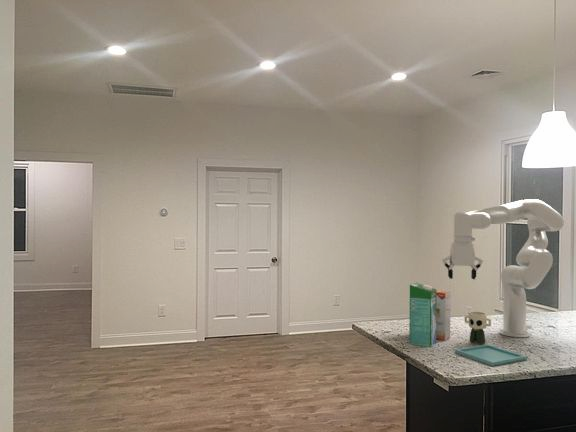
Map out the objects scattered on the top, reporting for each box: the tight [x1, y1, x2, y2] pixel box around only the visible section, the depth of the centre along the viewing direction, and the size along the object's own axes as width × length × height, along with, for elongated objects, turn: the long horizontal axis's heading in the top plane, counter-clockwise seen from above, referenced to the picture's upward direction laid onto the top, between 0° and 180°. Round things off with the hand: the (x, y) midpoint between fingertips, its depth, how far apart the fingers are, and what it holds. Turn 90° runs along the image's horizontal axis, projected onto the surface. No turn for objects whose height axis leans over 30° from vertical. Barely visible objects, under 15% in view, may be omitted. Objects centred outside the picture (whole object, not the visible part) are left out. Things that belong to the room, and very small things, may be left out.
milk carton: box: [408, 282, 437, 348], centre depth 197 cm, size 9×9×25 cm
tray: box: [454, 343, 528, 367], centre depth 178 cm, size 18×18×2 cm
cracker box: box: [436, 290, 451, 341], centre depth 207 cm, size 14×6×21 cm, turn 47°
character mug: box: [464, 310, 492, 345], centre depth 197 cm, size 11×7×13 cm, turn 51°
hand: (462, 278), depth 205 cm, fingers open, 9 cm apart
